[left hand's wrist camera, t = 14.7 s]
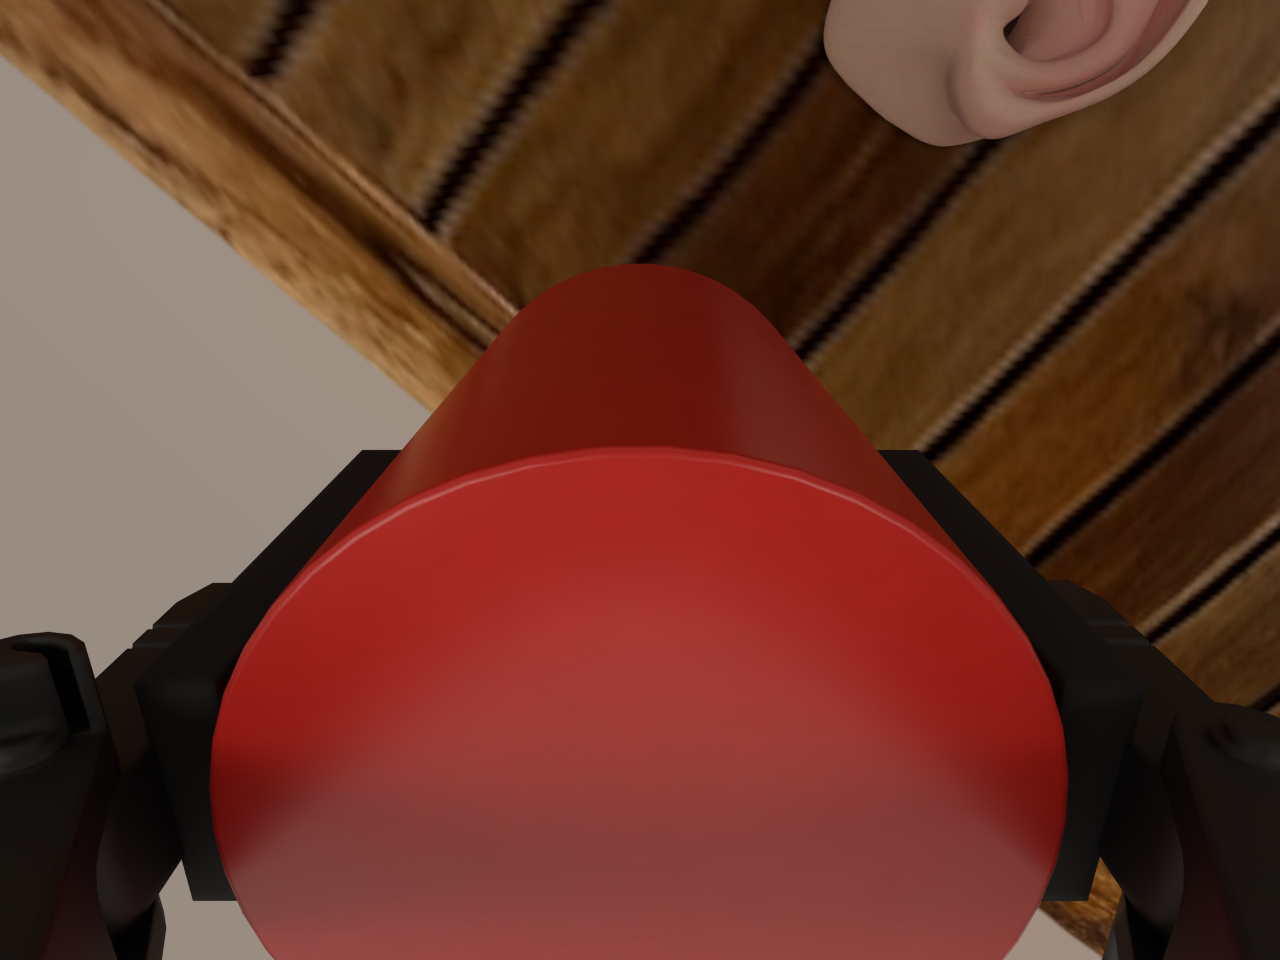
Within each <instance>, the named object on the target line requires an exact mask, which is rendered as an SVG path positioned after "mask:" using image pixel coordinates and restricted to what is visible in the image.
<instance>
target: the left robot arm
mask: <svg viewBox="0 0 1280 960" xmlns="http://www.w3.org/2000/svg"><path fill="white" fill-rule="evenodd" d="M401 451H402V450H362V451H361V452H360V453H359V454H358V455H357V456H356V457H355V458H354V459H353V460H352V461H351V462H350V463H349V464H348V465H347V466H346V467H345V468H344V469H343V470H342V471H341V472H340V473H339V474H338V475H337V476H336V477H335V478H334V479H333V480H332V482H330V483H329V484H328V485H327V487H326V488H325V489H323V490H322V492H321V493H320V494H319V495H318V496H317V497H316V498H315V499H314V500H313V501H312V502H311V503H310V504H309V505H308V506H307V507H306V508H305V509H304V510H303V511H302V512H301V513H300V514H299V515H298V516H297V517H296V518H295V519H294V520H293V521H292V522H291V523H290V524H289V525H288V526H287V527H286V528H285V529H284V530H283V531H282V532H281V533H280V534H279V535H278V536H277V537H276V538H275V539H274V540H273V541H272V542H271V543H270V544H269V546H268V547H266V549H265V550H264V551H263V552H262V553H261V554H260V555H259V556H258V557H257V558H256V559H255V560H254V561H253V562H252V563H251V564H250V565H249V566H248V567H247V568H246V569H245V570H244V571H243V572H242V573H241V574H240V575H239V576H238V577H237V578H236V579H235V580H234V581H233V582H232V583H212V584H210V585H208V586H206V587H204V588H202V589H200V590H199V591H197V592H195V593H193V594H191V595H189V596H187V597H186V598H184V599H182V600H180V601H178V602H177V603H176V604H174V605H173V606H172V607H171V608H170V609H169V610H168V611H167V612H166V613H165V614H164V615H163V616H162V617H161V618H160V619H158V620H157V621H156V622H155V623H154V624H153V629H148V630H147V631H146V632H145V633H144V634H142V635H141V636H140V637H139V638H138V639H137V640H136V641H135V642H134V643H133V647H132V649H127V650H125V651H124V652H123V653H122V654H121V655H120V656H119V657H118V658H117V659H116V660H115V661H114V662H113V663H112V664H111V665H109V666H108V667H107V668H106V669H105V670H104V671H103V672H102V673H101V674H100V675H99V676H98V677H97V678H96V679H95V677H94V674H93V670H92V667H91V664H90V660H89V657H88V653H87V650H86V647H85V643H84V642H83V641H81V640H79V639H78V638H76V637H75V636H73V635H71V634H63V633H54V632H43V633H32V634H22V635H16V636H12V637H8V638H4V639H0V960H162V955H163V948H164V941H165V933H166V923H165V916H164V910H163V907H162V903H161V900H160V897H159V893H160V891H161V890H162V888H163V887H164V885H165V884H166V882H167V881H168V879H169V877H170V876H171V874H172V873H173V871H174V870H175V868H176V867H177V865H178V864H179V862H180V861H181V859H182V863H183V866H184V870H185V874H186V877H187V881H188V884H189V888H190V892H191V895H192V899H193V901H237V899H236V897H235V895H234V893H233V890H232V888H231V886H230V884H229V881H228V879H227V877H226V875H225V872H224V868H223V864H222V861H221V857H220V853H219V850H218V846H217V842H216V839H215V835H214V831H213V821H212V811H211V802H210V792H209V783H210V768H211V754H212V740H213V735H214V731H215V727H216V723H217V719H218V715H219V710H220V706H221V702H222V698H223V694H224V691H225V689H226V687H227V684H228V682H229V680H230V677H231V675H232V673H233V671H234V668H235V666H236V664H237V662H238V659H239V657H240V655H241V652H242V650H243V648H244V646H245V645H246V643H247V642H248V640H249V639H250V637H251V636H252V634H253V633H254V631H255V629H256V628H257V626H258V625H259V623H260V622H261V620H262V619H263V617H264V616H265V614H266V613H267V611H268V610H269V608H270V607H271V605H272V604H273V603H274V601H275V600H276V599H277V598H278V597H279V595H280V594H281V593H282V592H283V591H284V590H285V588H286V587H287V586H288V585H289V584H290V582H291V581H292V580H293V579H294V578H295V576H296V575H297V574H298V573H299V572H300V571H301V569H302V568H303V567H304V566H305V565H306V563H307V562H308V561H309V560H310V559H311V557H312V556H313V555H314V554H315V553H316V552H317V550H318V549H319V548H320V547H321V546H322V544H323V543H324V542H325V541H326V540H327V538H328V537H329V536H330V535H331V534H332V533H333V531H334V530H335V529H336V528H337V527H338V525H339V524H340V523H341V522H342V521H343V519H344V518H345V517H346V516H347V515H348V514H349V512H350V511H351V510H352V509H353V508H354V506H355V505H356V504H357V503H358V502H359V500H360V499H361V498H362V497H363V496H364V495H365V493H366V492H367V491H368V490H369V489H370V487H371V486H372V485H373V484H374V483H375V481H376V480H377V479H378V478H379V477H380V476H381V474H382V473H383V472H384V471H385V470H386V468H387V467H388V466H389V465H390V464H391V462H392V461H393V460H394V459H395V458H396V457H397V455H398V454H399V453H400V452H401ZM877 451H878V452H879V453H880V455H881V456H882V457H883V458H884V459H885V461H886V462H887V463H888V464H889V465H890V467H891V468H892V469H893V470H894V471H895V473H896V474H897V475H898V476H899V477H900V479H901V480H902V481H903V482H904V483H905V484H906V486H907V487H908V488H909V489H910V490H911V492H912V493H913V494H914V495H915V496H916V498H917V499H918V500H919V501H920V502H921V504H922V505H923V506H924V507H925V508H926V510H927V511H928V512H929V513H930V514H931V516H932V517H933V518H934V519H935V520H936V522H937V523H938V524H939V525H940V526H941V527H942V529H943V530H944V531H945V532H946V533H947V535H948V536H949V537H950V538H951V539H952V541H953V542H954V543H955V544H956V545H957V547H958V548H959V549H960V550H961V551H962V553H963V554H964V555H965V556H966V557H967V559H968V560H969V561H970V562H971V563H972V565H973V566H974V567H975V568H976V569H977V570H978V572H979V573H980V574H981V575H982V576H983V578H984V579H985V580H986V581H987V582H988V584H989V585H990V586H991V587H992V588H993V590H994V591H995V592H996V593H997V594H998V596H999V597H1000V599H1001V600H1002V601H1003V603H1004V604H1005V606H1006V607H1007V608H1008V610H1009V611H1010V613H1011V614H1012V615H1013V617H1014V618H1015V620H1016V621H1017V622H1018V624H1019V625H1020V627H1021V628H1022V629H1023V631H1024V632H1025V633H1026V635H1027V636H1028V638H1029V640H1030V642H1031V644H1032V646H1033V648H1034V650H1035V652H1036V654H1037V656H1038V658H1039V660H1040V663H1041V665H1042V667H1043V669H1044V671H1045V673H1046V675H1047V677H1048V679H1049V681H1050V684H1051V687H1052V691H1053V694H1054V698H1055V701H1056V704H1057V708H1058V711H1059V715H1060V718H1061V721H1062V725H1063V731H1064V740H1065V749H1066V757H1067V766H1068V776H1069V780H1068V796H1067V813H1066V824H1065V828H1064V832H1063V837H1062V841H1061V845H1060V850H1059V854H1058V858H1057V863H1056V866H1055V868H1054V871H1053V873H1052V876H1051V878H1050V880H1049V883H1048V885H1047V888H1046V890H1045V893H1044V895H1043V898H1042V900H1041V901H1088V897H1089V894H1090V890H1091V887H1092V883H1093V879H1094V876H1095V872H1096V868H1097V865H1098V861H1099V858H1100V857H1101V859H1102V860H1103V862H1104V863H1105V865H1106V866H1107V868H1108V869H1109V871H1110V872H1111V874H1112V875H1113V877H1114V878H1115V880H1116V881H1117V883H1118V884H1119V886H1120V887H1121V889H1122V893H1121V897H1120V900H1119V903H1118V907H1117V910H1116V914H1115V917H1114V920H1113V924H1112V927H1111V931H1110V934H1109V937H1108V941H1107V944H1106V947H1105V951H1104V954H1103V958H1102V960H1280V718H1278V717H1276V716H1273V715H1271V714H1268V713H1265V712H1261V711H1258V710H1254V709H1251V708H1248V707H1244V706H1241V705H1236V704H1227V703H1218V702H1214V701H1213V700H1212V699H1211V698H1210V697H1209V696H1208V695H1206V694H1205V693H1204V692H1203V691H1202V690H1201V689H1200V688H1199V687H1198V686H1197V685H1196V684H1195V683H1194V682H1192V681H1191V680H1190V679H1189V678H1188V677H1187V676H1186V675H1185V674H1184V673H1183V672H1182V671H1181V670H1180V669H1179V668H1177V667H1176V666H1175V665H1174V664H1173V663H1172V662H1171V661H1170V660H1169V659H1168V658H1167V657H1166V656H1165V655H1163V654H1162V653H1161V652H1160V651H1159V650H1158V649H1157V648H1156V647H1155V646H1149V641H1148V640H1147V639H1146V638H1145V637H1144V636H1143V635H1142V634H1141V633H1140V632H1139V631H1138V630H1137V629H1136V628H1135V627H1129V622H1128V621H1127V620H1126V619H1125V618H1124V617H1123V616H1122V615H1121V614H1119V613H1118V612H1117V611H1116V610H1115V609H1114V608H1113V607H1112V606H1111V605H1110V604H1109V603H1108V602H1107V601H1106V600H1104V599H1103V598H1101V597H1099V596H1097V595H1095V594H1093V593H1091V592H1090V591H1088V590H1086V589H1084V588H1082V587H1080V586H1078V585H1076V584H1075V583H1073V582H1071V581H1069V580H1046V579H1045V578H1044V577H1043V576H1042V575H1041V574H1040V573H1039V572H1038V571H1037V570H1036V569H1035V568H1034V567H1033V566H1032V565H1031V564H1030V563H1029V562H1028V561H1027V560H1026V559H1025V558H1024V557H1023V556H1022V555H1021V554H1020V553H1019V552H1018V551H1017V550H1016V549H1015V548H1014V547H1013V546H1012V545H1011V544H1010V543H1009V542H1008V541H1007V540H1006V539H1005V538H1004V537H1003V536H1002V535H1001V534H1000V533H999V532H998V531H997V530H996V529H995V528H994V527H993V526H992V525H991V524H990V522H989V521H988V520H987V519H986V518H985V517H984V516H983V515H982V514H981V513H980V512H979V511H978V510H977V509H976V508H975V507H974V506H973V505H972V504H971V503H970V502H969V501H968V500H967V499H966V498H965V497H964V496H963V495H962V494H961V493H960V492H959V491H958V490H957V489H956V488H955V487H954V486H953V485H952V484H951V483H950V482H949V481H948V480H947V479H946V478H945V477H944V476H943V475H942V474H941V473H940V472H939V471H938V470H937V469H936V468H935V467H934V466H933V464H932V463H931V462H930V461H929V460H928V459H927V458H926V457H925V456H924V455H923V454H922V453H921V452H920V451H919V450H877Z"/></svg>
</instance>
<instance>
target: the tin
mask: <svg viewBox="0 0 1280 960" xmlns="http://www.w3.org/2000/svg"><path fill="white" fill-rule="evenodd" d="M1068 780H1069V776H1068V766H1067V757H1066V749H1065V740H1064V731H1063V725H1062V721H1061V718H1060V715H1059V711H1058V708H1057V704H1056V701H1055V698H1054V694H1053V691H1052V687H1051V684H1050V681H1049V679H1048V677H1047V675H1046V673H1045V671H1044V669H1043V667H1042V665H1041V663H1040V660H1039V658H1038V656H1037V654H1036V652H1035V650H1034V648H1033V646H1032V644H1031V642H1030V640H1029V638H1028V636H1027V635H1026V633H1025V632H1024V631H1023V629H1022V628H1021V627H1020V625H1019V624H1018V622H1017V621H1016V620H1015V618H1014V617H1013V615H1012V614H1011V613H1010V611H1009V610H1008V608H1007V607H1006V606H1005V604H1004V603H1003V601H1002V600H1001V599H1000V597H999V596H998V594H997V593H996V592H995V591H994V590H993V588H992V587H991V586H990V585H989V584H988V582H987V581H986V580H985V579H984V578H983V576H982V575H981V574H980V573H979V572H978V570H977V569H976V568H975V567H974V566H973V565H972V563H971V562H970V561H969V560H968V559H967V557H966V556H965V555H964V554H963V553H962V551H961V550H960V549H959V548H958V547H957V545H956V544H955V543H954V542H953V541H952V539H951V538H950V537H949V536H948V535H947V533H946V532H945V531H944V530H943V529H942V527H941V526H940V525H939V524H938V523H937V522H936V520H935V519H934V518H933V517H932V516H931V514H930V513H929V512H928V511H927V510H926V508H925V507H924V506H923V505H922V504H921V502H920V501H919V500H918V499H917V498H916V496H915V495H914V494H913V493H912V492H911V490H910V489H909V488H908V487H907V486H906V484H905V483H904V482H903V481H902V480H901V479H900V477H899V476H898V475H897V474H896V473H895V471H894V470H893V469H892V468H891V467H890V465H889V464H888V463H887V462H886V461H885V459H884V458H883V457H882V456H881V455H880V453H879V452H878V451H877V450H876V449H875V447H874V446H873V445H872V444H871V443H870V441H869V440H868V439H867V438H866V437H865V436H864V434H863V433H862V432H861V431H860V430H859V428H858V427H857V426H856V425H855V424H854V422H853V421H852V420H851V419H850V418H849V416H848V415H847V414H846V413H845V412H844V410H843V409H842V408H841V407H840V406H839V404H838V403H837V402H836V401H835V400H834V398H833V397H832V396H831V395H830V394H829V393H828V391H827V390H826V389H825V388H824V387H823V385H822V384H821V383H820V382H819V381H818V379H817V378H816V377H815V376H814V375H813V373H812V372H811V371H810V370H809V369H808V367H807V366H806V365H805V364H804V363H803V361H802V360H801V359H800V358H799V357H798V355H797V354H796V353H795V352H794V351H793V350H792V348H791V347H790V346H789V345H788V344H787V342H786V341H785V340H784V339H783V338H782V336H781V335H780V334H779V333H778V332H777V330H776V329H775V328H774V327H773V326H772V324H771V323H770V322H769V321H768V320H767V319H766V318H765V317H764V316H763V315H762V314H761V313H760V312H759V311H758V310H757V309H756V308H755V307H754V306H753V305H751V304H750V303H749V302H748V301H746V300H745V299H744V298H742V297H741V296H740V295H739V294H737V293H736V292H734V291H732V290H731V289H729V288H727V287H725V286H724V285H722V284H720V283H718V282H717V281H714V280H712V279H709V278H707V277H705V276H702V275H700V274H697V273H695V272H691V271H687V270H683V269H679V268H675V267H671V266H662V265H654V264H623V265H617V266H610V267H603V268H599V269H596V270H592V271H589V272H585V273H582V274H579V275H576V276H574V277H572V278H570V279H568V280H565V281H563V282H561V283H559V284H557V285H555V286H553V287H552V288H550V289H549V290H547V291H545V292H544V293H542V294H541V295H539V296H538V297H536V298H535V299H534V300H533V301H532V302H530V303H529V304H528V305H527V306H526V307H524V308H523V309H522V310H521V311H520V312H519V313H518V314H517V315H516V316H515V317H514V318H513V319H512V321H511V322H510V323H509V324H508V325H507V326H506V327H505V328H504V330H503V331H502V332H501V333H500V334H499V335H498V337H497V338H496V339H495V340H494V341H493V343H492V344H491V345H490V346H489V347H488V349H487V350H486V351H485V352H484V353H483V354H482V356H481V357H480V358H479V359H478V360H477V362H476V363H475V364H474V365H473V366H472V367H471V369H470V370H469V371H468V372H467V373H466V375H465V376H464V377H463V378H462V379H461V381H460V382H459V383H458V384H457V385H456V386H455V388H454V389H453V390H452V391H451V392H450V394H449V395H448V396H447V397H446V398H445V400H444V401H443V402H442V403H441V404H440V405H439V407H438V408H437V409H436V410H435V411H434V413H433V414H432V415H431V416H430V417H429V419H428V420H427V421H426V422H425V423H424V424H423V426H422V427H421V428H420V429H419V430H418V432H417V433H416V434H415V435H414V436H413V438H412V439H411V440H410V441H409V442H408V443H407V445H406V446H405V447H404V448H403V449H402V451H401V452H400V453H399V454H398V455H397V457H396V458H395V459H394V460H393V461H392V462H391V464H390V465H389V466H388V467H387V468H386V470H385V471H384V472H383V473H382V474H381V476H380V477H379V478H378V479H377V480H376V481H375V483H374V484H373V485H372V486H371V487H370V489H369V490H368V491H367V492H366V493H365V495H364V496H363V497H362V498H361V499H360V500H359V502H358V503H357V504H356V505H355V506H354V508H353V509H352V510H351V511H350V512H349V514H348V515H347V516H346V517H345V518H344V519H343V521H342V522H341V523H340V524H339V525H338V527H337V528H336V529H335V530H334V531H333V533H332V534H331V535H330V536H329V537H328V538H327V540H326V541H325V542H324V543H323V544H322V546H321V547H320V548H319V549H318V550H317V552H316V553H315V554H314V555H313V556H312V557H311V559H310V560H309V561H308V562H307V563H306V565H305V566H304V567H303V568H302V569H301V571H300V572H299V573H298V574H297V575H296V576H295V578H294V579H293V580H292V581H291V582H290V584H289V585H288V586H287V587H286V588H285V590H284V591H283V592H282V593H281V594H280V595H279V597H278V598H277V599H276V600H275V601H274V603H273V604H272V605H271V607H270V608H269V610H268V611H267V613H266V614H265V616H264V617H263V619H262V620H261V622H260V623H259V625H258V626H257V628H256V629H255V631H254V633H253V634H252V636H251V637H250V639H249V640H248V642H247V643H246V645H245V646H244V648H243V650H242V652H241V655H240V657H239V659H238V662H237V664H236V666H235V668H234V671H233V673H232V675H231V677H230V680H229V682H228V684H227V687H226V689H225V691H224V694H223V698H222V702H221V706H220V710H219V715H218V719H217V723H216V727H215V731H214V735H213V740H212V754H211V768H210V783H209V792H210V802H211V811H212V821H213V831H214V835H215V839H216V842H217V846H218V850H219V853H220V857H221V861H222V864H223V868H224V872H225V875H226V877H227V879H228V881H229V884H230V886H231V888H232V890H233V893H234V895H235V897H236V899H237V901H238V904H239V906H240V908H241V910H242V913H243V914H244V916H245V918H246V919H247V921H248V922H249V924H250V925H251V927H252V928H253V930H254V932H255V933H256V935H257V936H258V938H259V940H260V941H261V943H262V944H263V946H264V947H265V949H266V950H267V952H268V953H269V954H270V955H271V956H272V957H273V959H274V960H1004V958H1005V957H1006V956H1007V955H1008V953H1009V952H1010V951H1011V950H1012V948H1013V947H1014V946H1015V944H1016V943H1017V942H1018V940H1019V939H1020V937H1021V935H1022V934H1023V932H1024V930H1025V929H1026V927H1027V925H1028V923H1029V922H1030V920H1031V918H1032V917H1033V915H1034V913H1035V912H1036V910H1037V908H1038V907H1039V905H1040V903H1041V900H1042V898H1043V895H1044V893H1045V890H1046V888H1047V885H1048V883H1049V880H1050V878H1051V876H1052V873H1053V871H1054V868H1055V866H1056V863H1057V858H1058V854H1059V850H1060V845H1061V841H1062V837H1063V832H1064V828H1065V824H1066V813H1067V796H1068Z"/></svg>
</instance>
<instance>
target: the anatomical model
mask: <svg viewBox="0 0 1280 960" xmlns="http://www.w3.org/2000/svg"><path fill="white" fill-rule="evenodd" d="M1207 2H1208V0H831V2H830V6H829V9H828V12H827V16H826V21H825V27H824V46H825V51H826V54H827V57H828V59H829V61H830V63H831V64H832V66H833V67H834V69H835V70H836V72H837V73H838V74H839V75H840V76H841V77H842V79H843V80H844V81H845V82H846V83H847V85H848V86H849V87H851V88H852V89H853V90H854V91H855V92H856V93H857V94H858V95H859V96H860V97H861V98H862V99H863V100H864V101H866V102H867V103H868V104H869V105H870V106H871V107H872V108H873V109H874V110H875V111H876V112H878V113H879V114H880V115H881V116H882V117H884V118H885V119H886V120H888V121H889V122H891V123H892V124H894V125H895V126H897V127H899V128H900V129H902V130H903V131H905V132H906V133H908V134H910V135H911V136H913V137H915V138H916V139H918V140H920V141H922V142H925V143H928V144H931V145H936V146H954V145H960V144H965V143H969V142H973V141H976V140H980V139H983V138H985V139H998V138H1003V137H1006V136H1009V135H1013V134H1015V133H1018V132H1020V131H1023V130H1026V129H1028V128H1031V127H1033V126H1036V125H1039V124H1041V123H1044V122H1047V121H1049V120H1052V119H1055V118H1058V117H1061V116H1064V115H1067V114H1069V113H1072V112H1075V111H1078V110H1081V109H1083V108H1086V107H1088V106H1091V105H1093V104H1096V103H1098V102H1100V101H1102V100H1104V99H1106V98H1108V97H1110V96H1112V95H1114V94H1116V93H1118V92H1119V91H1121V90H1123V89H1125V88H1126V87H1128V86H1129V85H1131V84H1132V83H1134V82H1135V81H1137V80H1138V79H1139V78H1141V77H1142V76H1143V75H1144V74H1146V73H1147V72H1148V71H1149V70H1151V69H1152V68H1153V67H1154V66H1155V65H1156V64H1157V63H1158V62H1159V61H1160V60H1162V59H1163V58H1164V57H1165V56H1166V55H1167V53H1168V52H1169V51H1170V50H1171V49H1172V48H1173V47H1174V46H1175V45H1176V44H1177V42H1178V41H1179V40H1180V39H1181V38H1182V36H1183V35H1184V34H1185V33H1186V32H1187V30H1188V29H1189V28H1190V26H1191V25H1192V24H1193V22H1194V21H1195V20H1196V18H1197V17H1198V15H1199V14H1200V13H1201V11H1202V10H1203V8H1204V7H1205V5H1206V4H1207Z"/></svg>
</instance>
